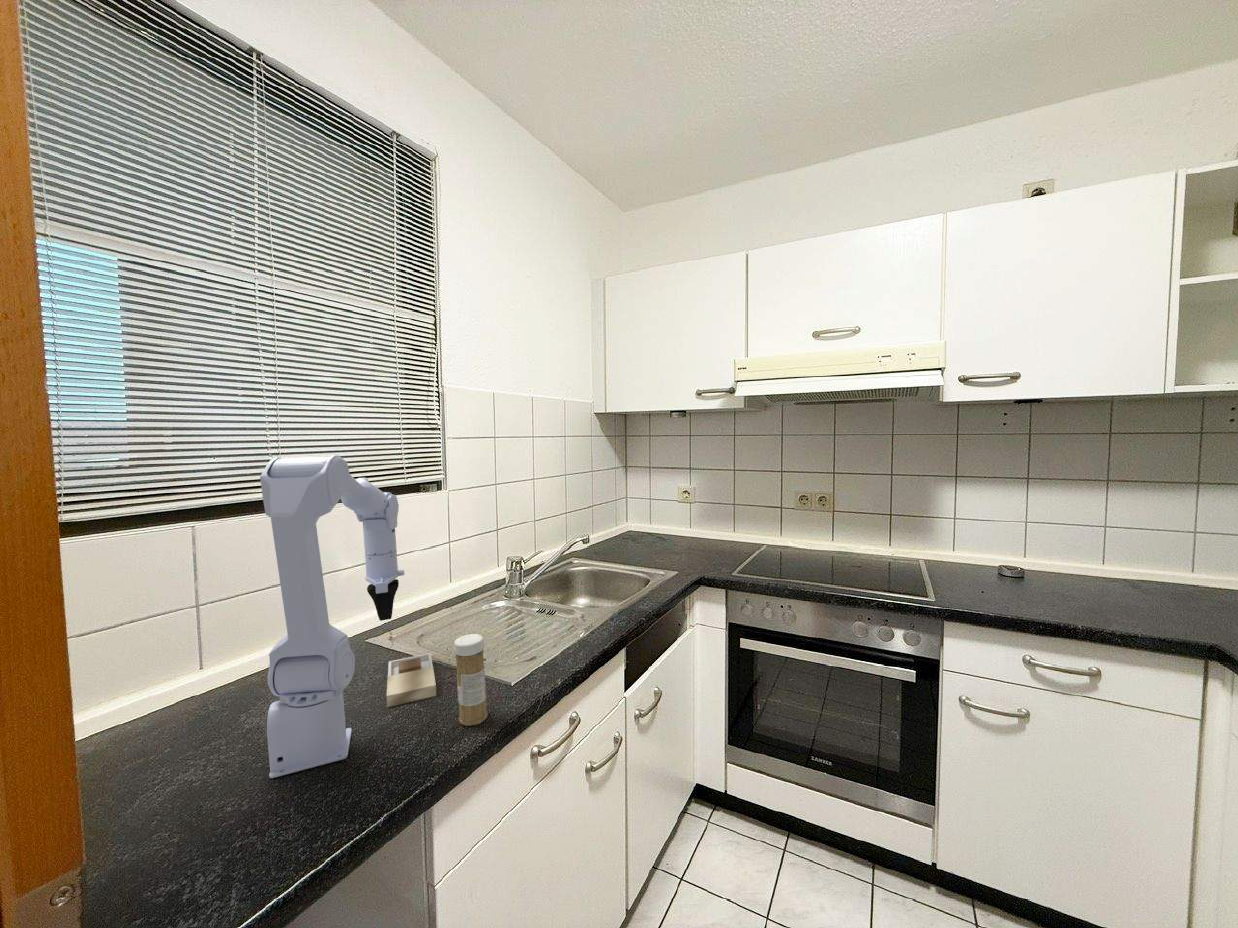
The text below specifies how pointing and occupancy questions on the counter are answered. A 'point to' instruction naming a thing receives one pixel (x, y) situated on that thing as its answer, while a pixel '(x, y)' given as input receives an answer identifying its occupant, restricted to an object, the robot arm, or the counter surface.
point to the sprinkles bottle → (471, 679)
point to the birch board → (410, 686)
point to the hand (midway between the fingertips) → (385, 618)
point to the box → (425, 659)
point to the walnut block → (409, 665)
